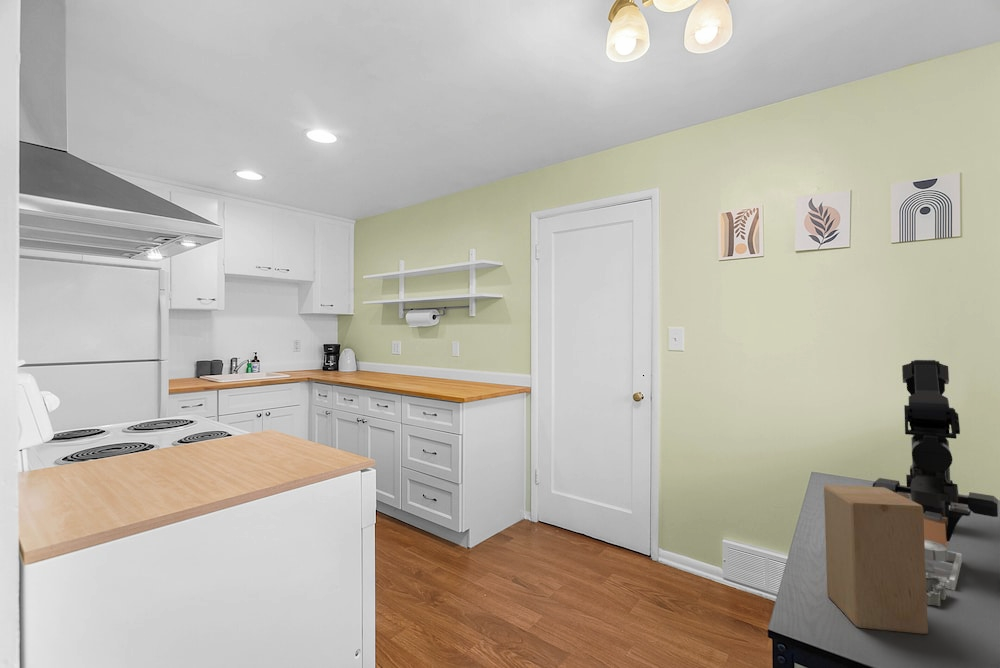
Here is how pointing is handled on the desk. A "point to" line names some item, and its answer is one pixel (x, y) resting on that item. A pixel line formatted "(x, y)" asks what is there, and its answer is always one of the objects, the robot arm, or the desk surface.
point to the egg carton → (935, 589)
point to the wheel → (935, 551)
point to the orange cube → (935, 528)
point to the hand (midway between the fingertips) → (933, 537)
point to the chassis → (946, 569)
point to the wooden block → (876, 558)
